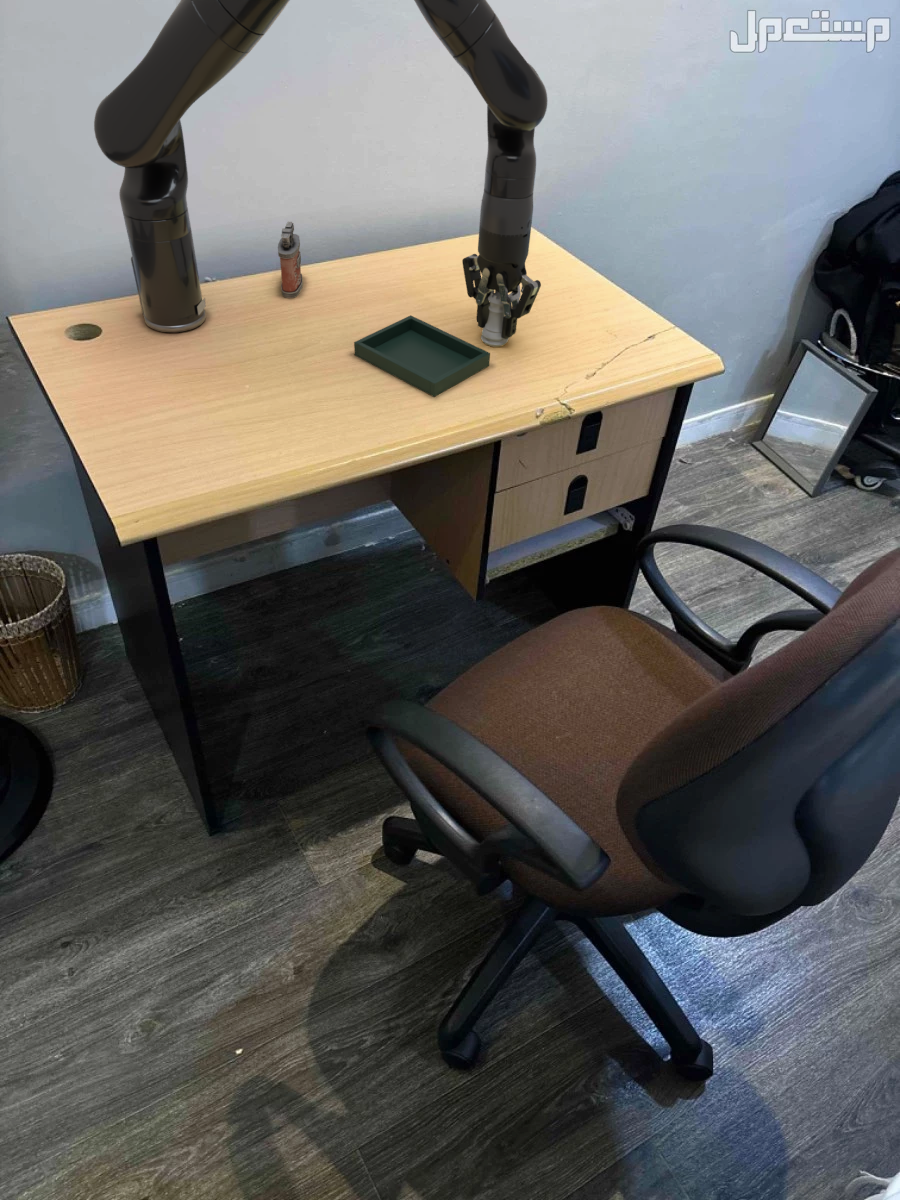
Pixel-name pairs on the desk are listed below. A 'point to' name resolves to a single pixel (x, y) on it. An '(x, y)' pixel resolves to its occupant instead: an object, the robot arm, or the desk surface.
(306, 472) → the desk surface
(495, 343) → the rook chess piece
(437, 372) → the tray
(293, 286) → the lighter
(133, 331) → the desk surface
